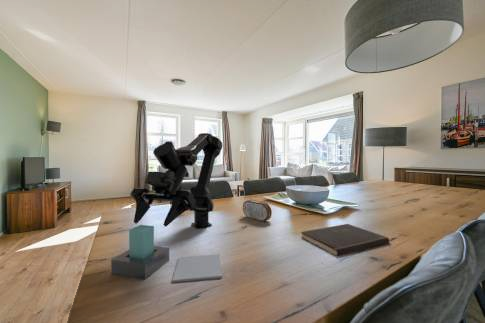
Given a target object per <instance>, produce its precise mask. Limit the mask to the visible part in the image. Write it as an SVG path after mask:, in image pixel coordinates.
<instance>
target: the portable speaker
mask: <svg viewBox="0 0 485 323" xmlns="http://www.w3.org/2000/svg"><path fill="white" fill-rule="evenodd" d="M242 211H243V214H244V215H245V217H246V218H247V219H252V220H254V221H260V222H262V221H263V222H266V221H269V220H270V219H271V218H272V214H273V213H272V207H271V206H270V204H268V203H267V202H265V201H261V200H257V199H252V198H251V199H248V200H245V201H244V202H243V204H242Z"/></svg>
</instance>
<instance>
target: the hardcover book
mask: <svg viewBox="0 0 485 323" xmlns="http://www.w3.org/2000/svg"><path fill="white" fill-rule="evenodd" d="M300 234H301V238H303V239H305V240H307V241H309V242H310V243H312V244H313V245H315V246H317V247H320V248H322V249H324V250H325V251H327V252H330V253H331V254H333V255H334V256H336V257H340V256H344V255H348V254H352V253H356V252H357V253H358V252H361V251H364V250H367V249H372V248H376V247H380V246H384V245H387V244H390V238H389V237H387V236H385V235H382V234H378V233H376V232H373V231H370V230H367V229H365V228H361V227H358V226H356V225H352V224H349V223H345V224H339V225H334V226H327V227H321V228H316V229H310V230H304V231H300Z"/></svg>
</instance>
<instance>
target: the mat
mask: <svg viewBox="0 0 485 323" xmlns="http://www.w3.org/2000/svg"><path fill="white" fill-rule="evenodd" d="M222 278H223V274H222V266H221V258H220V254H219V253H218V254H217V253H216V254H205V255H204V254H203V255H191V256H190V255H189V256H179V257H178V259H177V263H176V266H175V269H174V273H173V277H172V283H181V282H188V281H189V282H190V281H201V280H203V281H204V280H213V279H222Z"/></svg>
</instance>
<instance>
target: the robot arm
mask: <svg viewBox="0 0 485 323" xmlns="http://www.w3.org/2000/svg"><path fill="white" fill-rule="evenodd" d="M222 149H223V142H222V140H221V139H220V138H218V137H217V136H213V134H212V133H209V132H205V133H202V132H201V133H199V134H198V136H196V138H194V139H193V140H191V142H190V143H188V144H187V145H186V146H181V147H179V148H175V146H174V143H173V142H172V141H168V140H167V141H164V143H162V144H160V145H158V146H157V147H155V148H154V150H153V155H154V156H155V158H156V161H158V162H159V164H160V166H161V167H162V168H163V169H164V170H166V171H147V175H146V176H145V181H144V184H147V185H150V186H152V187H151V189H152V191H154V192H150V191H149V189H148V188H147V187H134V188H133V189H132V190H131V192H130V196H131V197H132V199H133V200H134V201H135V204H136V205H135V212H134V217H133V218H134V219H133V223H134V224H135V225H137V224H138V223H139V222H140V221H141V220H142V218H143V217H144V216H145V215H146V213H147V212H148V211H149V210H150V208H151V205H152V204H153V202H154V201H161V202H171V207H170V208H169V210H168V213H167V215H166V217H165V219H164V222H163V226H164V227H168V226H169V225H170V224H171V223H172V222H173V221H174V220H176V219H177V218H178V217H179V216H180V215H182V214H184V213H185V212H186V211H187V212H188V211H190V212H194V215H193V218H194V219H193V221H194V222H191V225H192V226H193V227H194V228H196V229H201V228H206V227H208V228H209V227H211V226H213V225H212V223H211V222H209V221H210V220H209V213H210V212H213V211H214V206H215V205H214V203H213V200H212V198H211V193H210V192H211V191H210V190H209V189H210V188H209V186H210V182H211V178H212V175H213V174H212V173H213V169H214V165H215V160H216V159H217V158H218V157H219V155H220V154H221V151H222ZM201 151H202V152H203V154H204V155H203V159H202V164H201V168H200V172H199V174H198V179H197V182H196V185H195V186H191V187H190V189H182V188H183V186H182V183H183V181H184V179H185V178H189V177H190V175H189V171H188V168H187V167H193V166H194V165H195V164H196V162H197V160H198V158H199V157H198V154H200V152H201Z"/></svg>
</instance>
